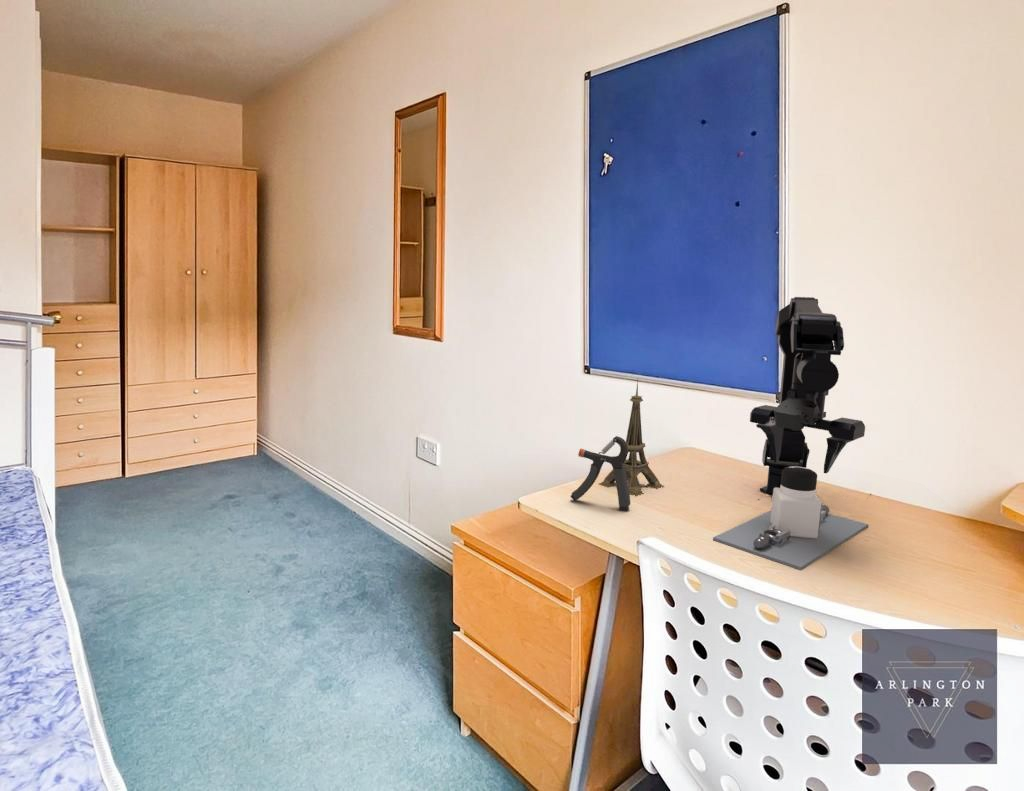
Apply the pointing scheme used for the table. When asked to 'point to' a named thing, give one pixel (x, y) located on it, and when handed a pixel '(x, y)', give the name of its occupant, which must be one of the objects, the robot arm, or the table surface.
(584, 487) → the hand grip strengthener
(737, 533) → the rubber mat
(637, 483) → the eiffel tower
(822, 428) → the robot arm
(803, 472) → the medicine bottle
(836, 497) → the table surface
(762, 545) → the chain ends
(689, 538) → the table surface
